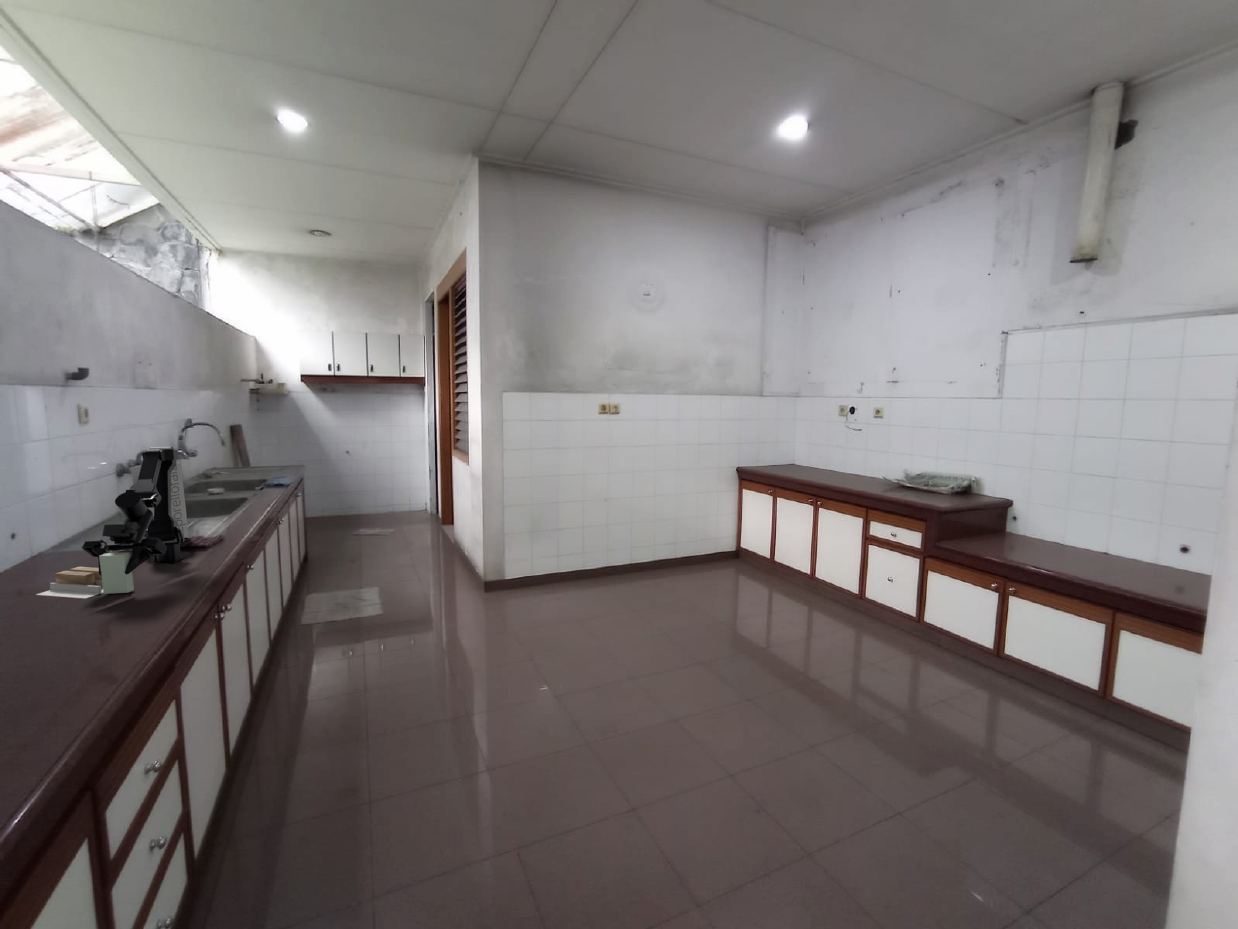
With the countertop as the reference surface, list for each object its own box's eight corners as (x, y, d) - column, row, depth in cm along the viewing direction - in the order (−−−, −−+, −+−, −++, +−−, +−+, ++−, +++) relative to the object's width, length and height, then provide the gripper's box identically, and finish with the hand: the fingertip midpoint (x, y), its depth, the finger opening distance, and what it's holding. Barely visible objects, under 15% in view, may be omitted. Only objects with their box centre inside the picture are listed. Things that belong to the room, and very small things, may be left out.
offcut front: (80, 581, 168) (78, 566, 167) (109, 583, 166) (107, 568, 165) (71, 583, 165) (69, 569, 164) (100, 586, 164) (98, 571, 163)
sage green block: (110, 590, 159) (105, 553, 157) (134, 589, 160) (129, 552, 158) (103, 593, 157) (99, 556, 155) (128, 592, 158) (123, 555, 156)
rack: (85, 582, 169) (83, 573, 169) (131, 585, 167) (130, 576, 166) (36, 598, 157) (34, 587, 156) (85, 601, 154) (84, 591, 154)
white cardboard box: (151, 548, 204) (142, 467, 200) (139, 547, 205) (130, 467, 201) (188, 538, 218) (180, 462, 214) (177, 537, 219) (169, 462, 215)
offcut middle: (66, 585, 164) (64, 570, 163) (95, 587, 162) (93, 572, 162) (57, 588, 161) (55, 573, 161) (86, 590, 160) (84, 575, 159)
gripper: (82, 512, 157) (55, 562, 148) (156, 510, 160) (134, 559, 151) (105, 532, 166) (82, 580, 157) (175, 530, 169) (156, 577, 160)
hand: (113, 574), depth 156 cm, fingers closed on sage green block, 6 cm apart
